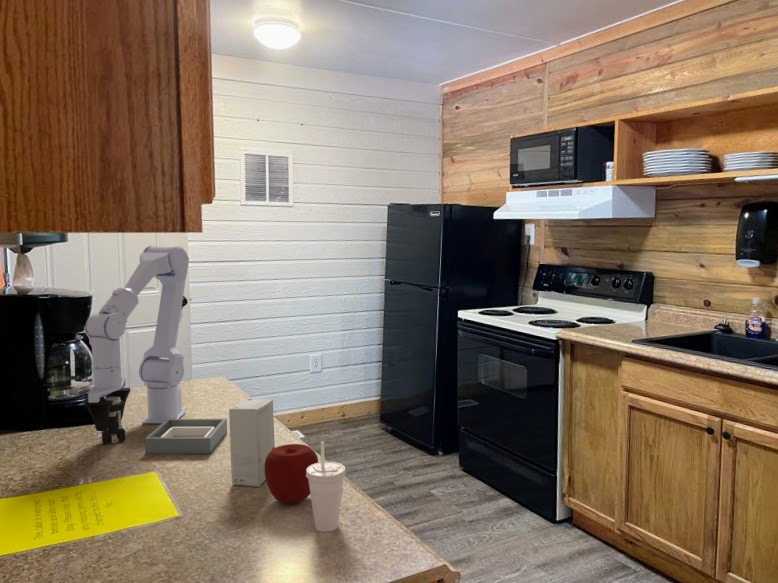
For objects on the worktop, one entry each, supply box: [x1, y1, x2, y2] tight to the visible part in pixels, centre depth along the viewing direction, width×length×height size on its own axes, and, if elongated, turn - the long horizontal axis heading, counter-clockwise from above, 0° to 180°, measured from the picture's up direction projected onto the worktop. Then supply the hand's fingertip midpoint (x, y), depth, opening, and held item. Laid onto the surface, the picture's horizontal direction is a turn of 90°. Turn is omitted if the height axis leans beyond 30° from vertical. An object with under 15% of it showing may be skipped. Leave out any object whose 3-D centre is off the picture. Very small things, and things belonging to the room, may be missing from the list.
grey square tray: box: [144, 418, 228, 455], centre depth 140 cm, size 14×14×4 cm
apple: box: [264, 443, 320, 506], centre depth 110 cm, size 10×10×10 cm
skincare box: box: [228, 398, 276, 488], centre depth 119 cm, size 8×6×15 cm
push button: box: [93, 397, 127, 445], centre depth 140 cm, size 7×5×10 cm
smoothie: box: [306, 441, 347, 533], centre depth 100 cm, size 6×6×14 cm
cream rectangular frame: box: [161, 427, 215, 437], centre depth 140 cm, size 8×10×2 cm
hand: (109, 425), depth 140 cm, fingers open, 7 cm apart
